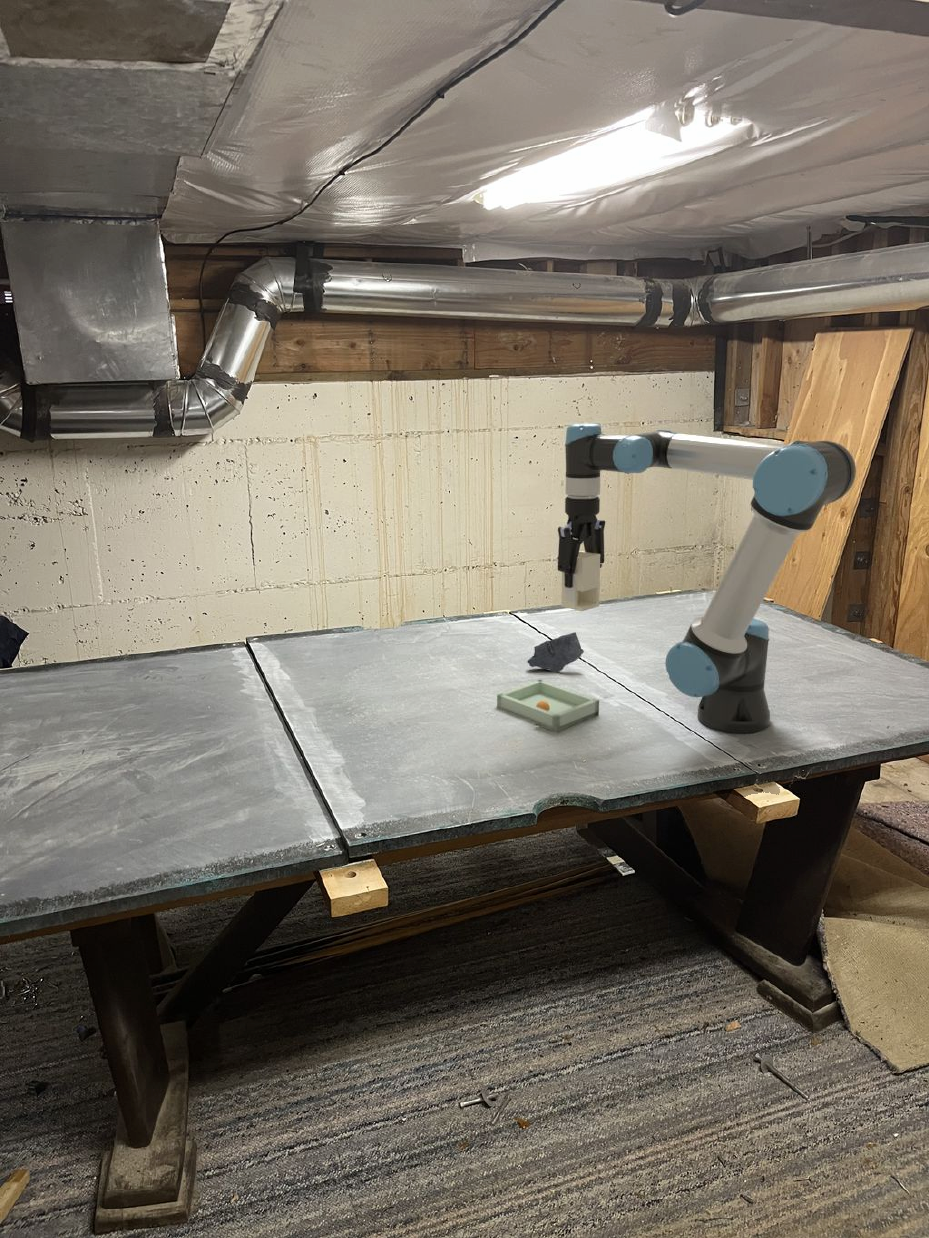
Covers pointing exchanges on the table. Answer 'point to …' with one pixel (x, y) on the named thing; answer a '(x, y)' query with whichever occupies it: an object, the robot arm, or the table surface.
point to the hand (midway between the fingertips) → (580, 598)
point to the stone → (556, 653)
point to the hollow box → (585, 582)
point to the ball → (543, 705)
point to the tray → (562, 703)
